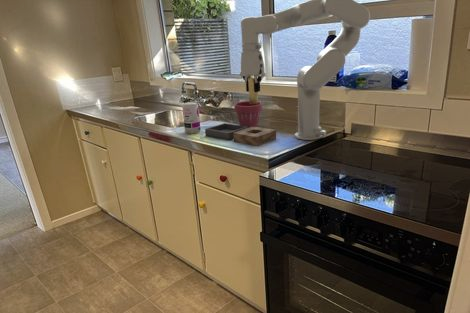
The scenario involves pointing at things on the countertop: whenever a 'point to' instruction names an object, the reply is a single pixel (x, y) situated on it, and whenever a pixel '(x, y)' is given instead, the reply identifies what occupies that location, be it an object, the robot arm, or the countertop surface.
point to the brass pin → (252, 92)
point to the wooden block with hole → (254, 135)
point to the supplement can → (191, 117)
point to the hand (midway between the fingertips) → (253, 91)
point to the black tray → (223, 131)
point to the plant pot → (248, 113)
